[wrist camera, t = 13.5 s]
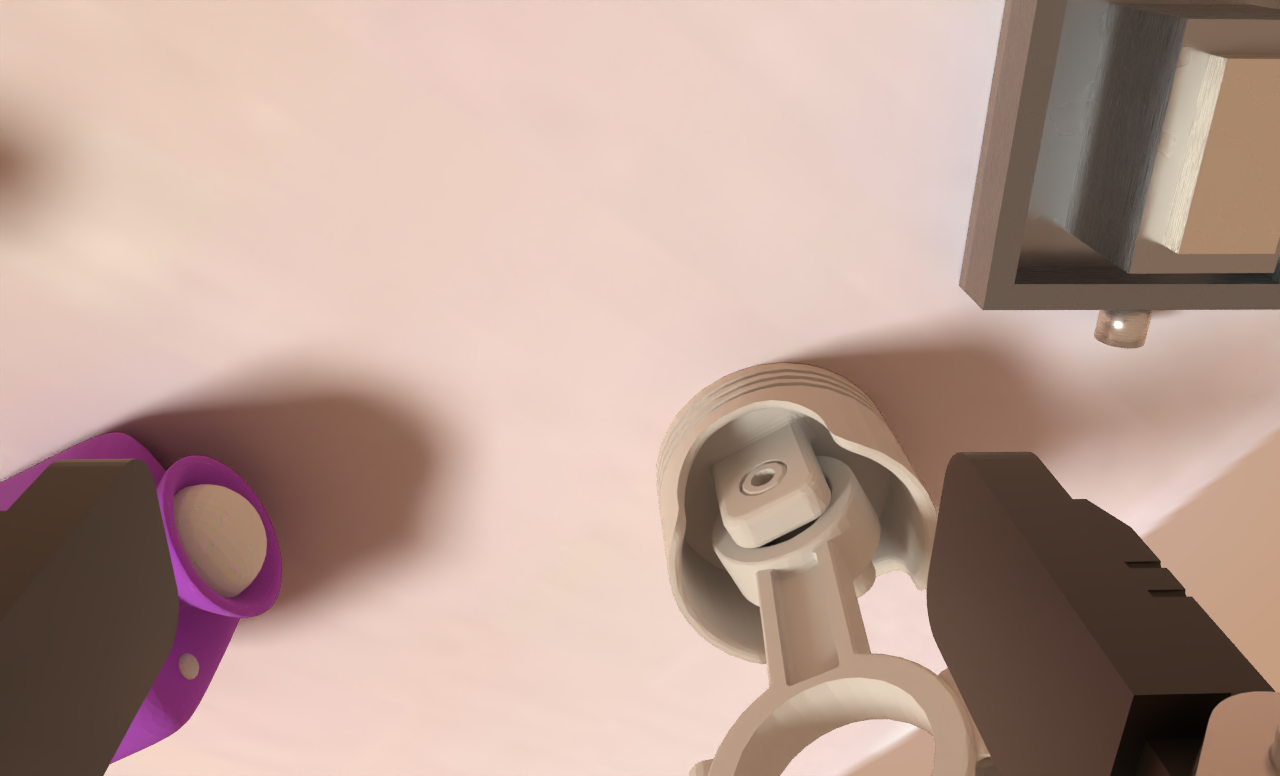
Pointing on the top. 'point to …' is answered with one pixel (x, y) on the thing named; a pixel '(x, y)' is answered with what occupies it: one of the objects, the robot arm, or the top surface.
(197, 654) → the toy camera
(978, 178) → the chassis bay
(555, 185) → the top surface
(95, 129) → the top surface
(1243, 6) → the stepped two-tone block
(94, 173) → the top surface
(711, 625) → the engine component
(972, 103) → the top surface
